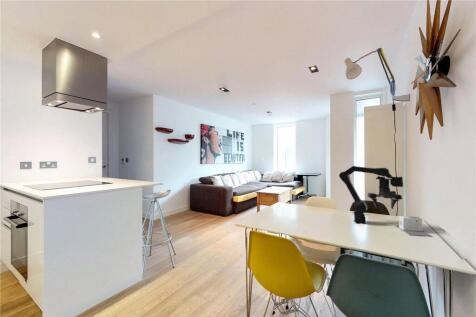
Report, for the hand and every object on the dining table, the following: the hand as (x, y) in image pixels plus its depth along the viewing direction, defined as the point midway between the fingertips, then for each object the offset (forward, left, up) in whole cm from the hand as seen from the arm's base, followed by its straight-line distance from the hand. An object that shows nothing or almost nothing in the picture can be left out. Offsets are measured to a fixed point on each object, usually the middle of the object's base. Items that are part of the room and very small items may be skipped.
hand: (384, 208), depth 141 cm
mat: (+13, -7, -12) cm, 19 cm away
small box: (+7, -6, -8) cm, 12 cm away
